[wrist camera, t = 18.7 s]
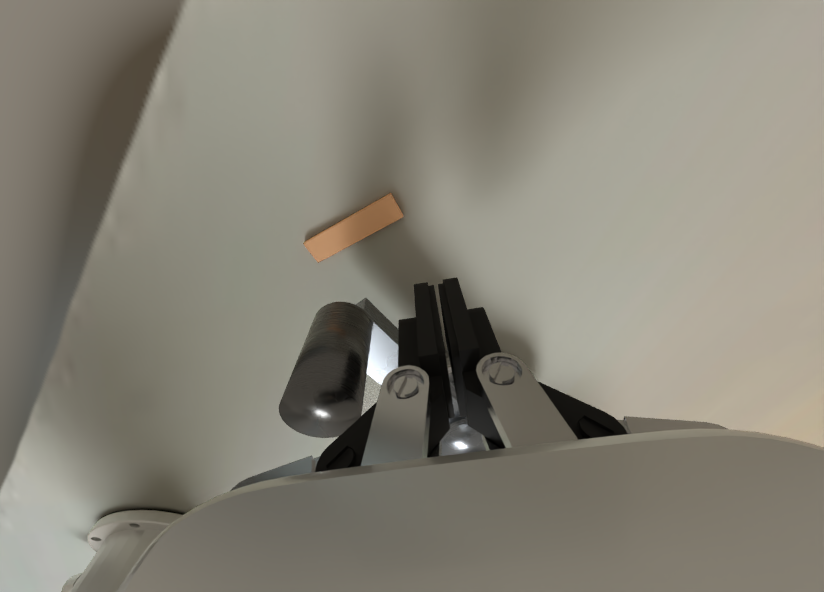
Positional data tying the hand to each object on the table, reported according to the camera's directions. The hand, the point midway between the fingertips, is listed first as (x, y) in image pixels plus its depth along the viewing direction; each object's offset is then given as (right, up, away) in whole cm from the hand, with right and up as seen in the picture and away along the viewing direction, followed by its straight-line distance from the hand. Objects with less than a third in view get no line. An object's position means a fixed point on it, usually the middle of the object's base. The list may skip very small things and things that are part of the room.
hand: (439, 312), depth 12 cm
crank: (-1, -4, +5) cm, 7 cm away
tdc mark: (-4, +4, +3) cm, 6 cm away
